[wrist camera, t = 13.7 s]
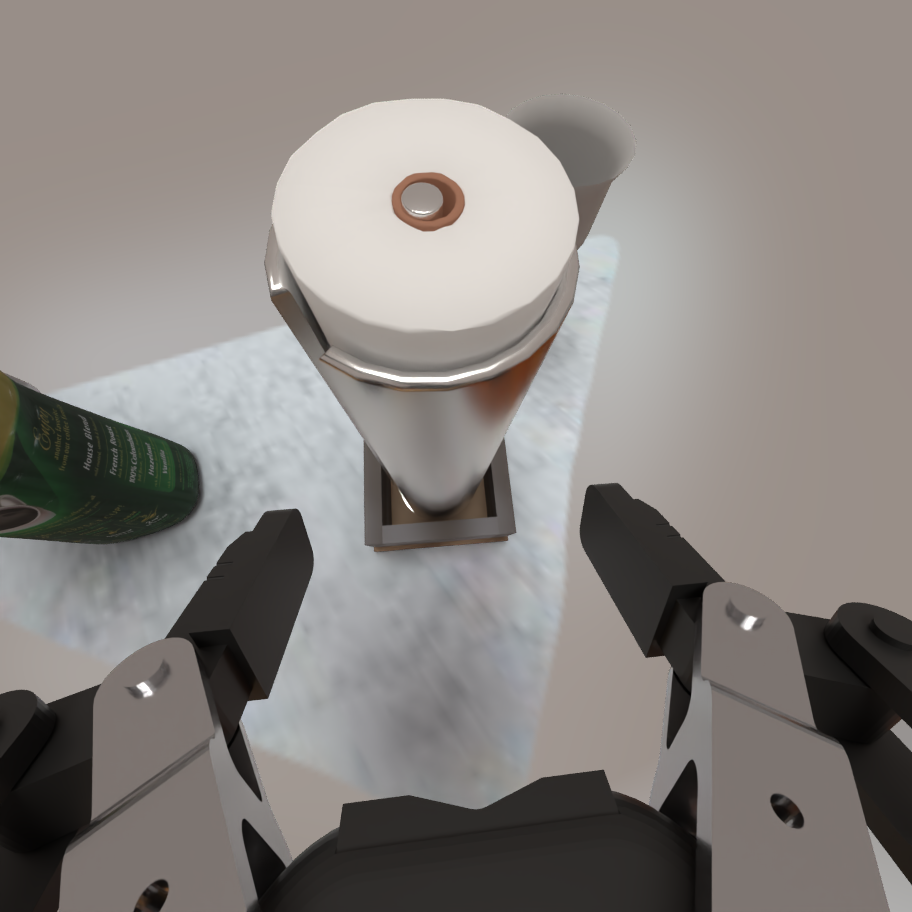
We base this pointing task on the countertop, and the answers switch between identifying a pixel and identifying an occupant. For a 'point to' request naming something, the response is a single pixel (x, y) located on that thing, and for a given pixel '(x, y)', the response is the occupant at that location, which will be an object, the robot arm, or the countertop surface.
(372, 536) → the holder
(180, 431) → the countertop surface
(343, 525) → the countertop surface
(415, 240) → the silver metal cylinder
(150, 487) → the coffee jar
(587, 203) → the chalice
